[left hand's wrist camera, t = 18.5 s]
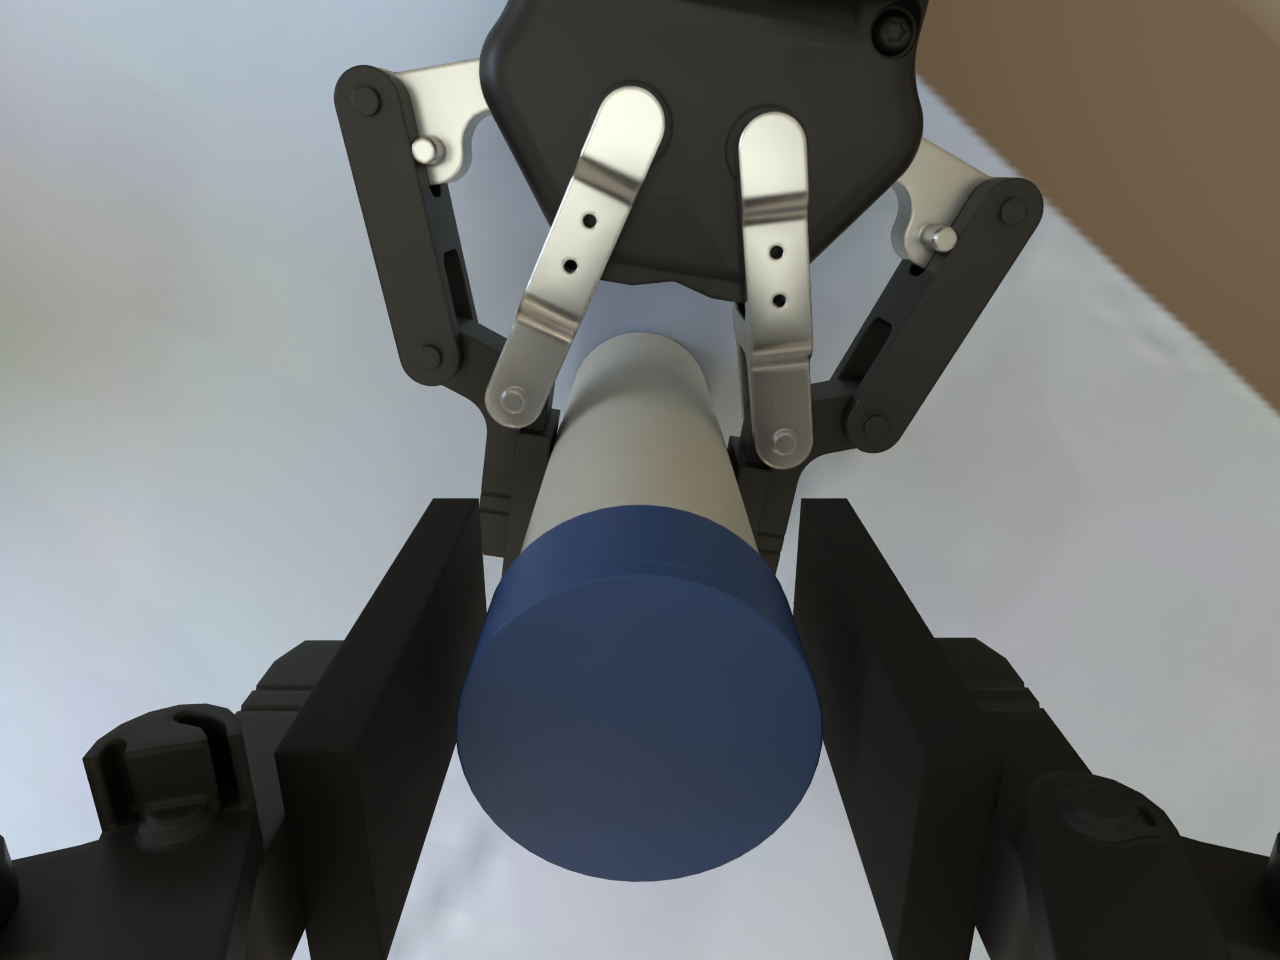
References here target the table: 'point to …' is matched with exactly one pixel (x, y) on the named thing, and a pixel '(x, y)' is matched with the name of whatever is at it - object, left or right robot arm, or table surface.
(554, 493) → the jar
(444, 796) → the table surface
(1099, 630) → the table surface
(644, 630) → the lid
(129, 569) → the table surface
